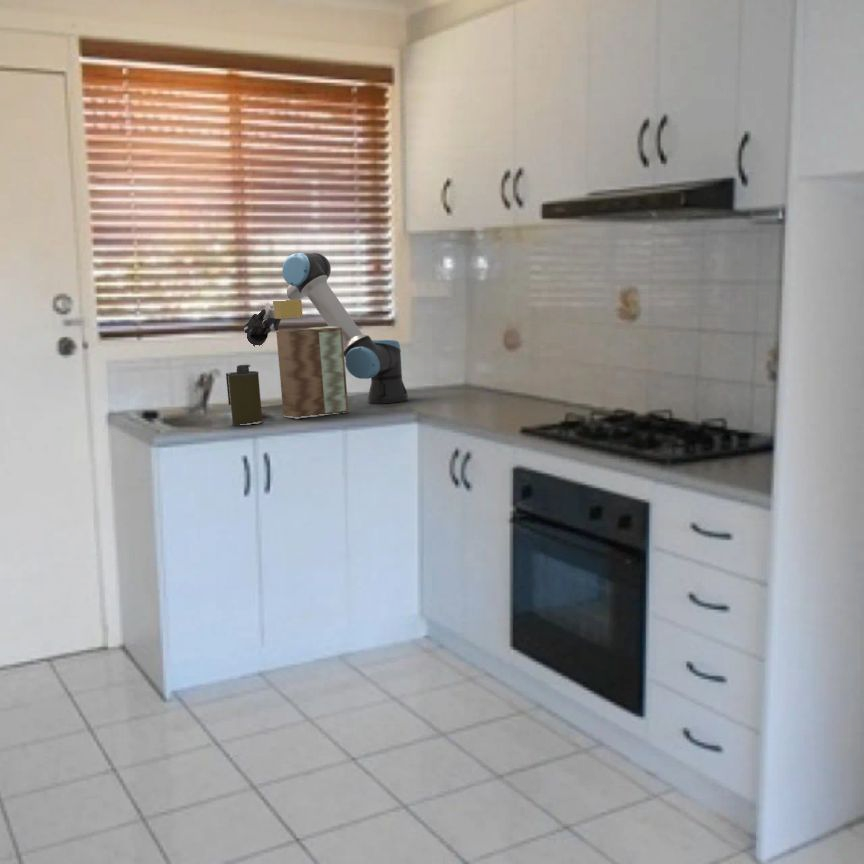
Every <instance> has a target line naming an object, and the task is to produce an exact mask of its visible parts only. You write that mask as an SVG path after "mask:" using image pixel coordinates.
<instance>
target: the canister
mask: <svg viewBox="0 0 864 864" xmlns="http://www.w3.org/2000/svg"><path fill="white" fill-rule="evenodd" d="M250 367H252V366H251V364H239V365H236V371H235V372H226V373H225V378H226V387H227V388H226V391H227V401H228V406H230V409H231V410H230V411H231V420H232V421H231V424H232V426H234V425H240V424H247V423H253V422H258V421H263V413H262V411H263V410H262V402H261V401H262V400H261V389H260V377H259V371H256V370H255V371H253V370H251V371H250V369H249V368H250Z"/></svg>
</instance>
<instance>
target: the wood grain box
mask: <svg viewBox="0 0 864 864" xmlns="http://www.w3.org/2000/svg"><path fill="white" fill-rule="evenodd" d="M276 344H277V356H278V369H279V377H280V378H279V380H280V389H281V390H280V391H281V402H282V411H283V412H282V416H283V415H285V416H293V417H301V416H310V415H319V414H333V413H343V412H348V413H349V403H348V389H347V375H346V373H347V372H346V364H345V362H346V360H345V356H344V347H343V333H342V328H340V327H329V326H318V327H307V328H294V329H293V328H291V329H284V330H283V329H282V330H278V331H276Z"/></svg>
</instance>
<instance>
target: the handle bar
mask: <svg viewBox="0 0 864 864" xmlns="http://www.w3.org/2000/svg"><path fill="white" fill-rule="evenodd" d="M273 305H274V310H270V312H269V314H268V315H267V317H266V318H275V319H281V320H282V319H292V318H303V316H304V315H303V306H302V305H303V301H302V299H300V300H286V301H273ZM263 318H264V317H263Z"/></svg>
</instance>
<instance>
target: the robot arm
mask: <svg viewBox="0 0 864 864" xmlns="http://www.w3.org/2000/svg"><path fill="white" fill-rule="evenodd" d="M281 270H282V271H281V272H282V277H283V279H284V281H285V282H286V283H287V284H289V286H288V289H287V296H288V298H289V299H290V300H302V299H303V298H304V297H305V296H306V297H308V299H309V301H310V303H312V304H313V306H314V307H315V309H316V310H317V312H318V313H319V314H320V316H321V318H322V319H323V320H324V322H325V323H326V324H327V327H340V328H342V333H343V347H344V360H345V369H346V370H347V371H348V372H349V374H350V375H351V376H353V377H354V378H357V379H362V380H365V379H370V380H371V381H370V388H369V390H368V395H367V403H368V404H377V405H378V404H379V405H381V404H395V403H396V404H397V403H402V402H403V403H404V402H407V401H408V400H409V396H408V395H409V394H408V391H407V389H406V386H405V383H404V381H403V374H402V361H401V360H402V357H401V350H402V349H401V347H400V346H401V345H400V342H399V341H398V340H396V339H395V340H394V339H393V340H392V339H373V340H372V338H371V337H370V336H369V335H367V334H363V333H362V331H361V330H360V328H359V326H357V324H356V323H355V321H354V320H353V318H352V317H351V316H350V314H349V313H348V311H347V310H346V308H345V307H344V306H343V304H342V303H341V301H340V300H339V298H338V297H337V295H336V294H335V293H334V291H333V290H332V288H331V287H330V286H329V284H328V279H329V278H330V276H331V270H332V269H331V263H330V261H329V260H328V258H327V257H326V256H325V255H323V254H321V253H318V252H312V253H310V252H305V253H303V252H296V253H293V254H290V255H288V256H287V257H286V259H285V260H284V262H283V264H282V269H281ZM266 303H267V302H266ZM266 303H265V304H266ZM270 310H271V308H270V304H269V303H267V304H266V306H265V308H264V309H262V310H261V312H260V313H259V314H258V315H257V314H254V313H253V314H254V315H253V314H252V315H253V316H252V315H251V316H252V317H251V319H250V320H249V322H248V323H247V324H246V325H245V326H244V331H245V333H247V334H246V336H247V339H248V341H249V342H250V343H251V344H253V346H254V347H255V345H259V346H260V345H262V344H263V343H265V342H266V341H267V339H268V337H269V333H271V331H272V330H274V331H276V332H278V331H279V325H280V322H281V320H282V319H275V318H268V319H267V320H265V321H264V322H263V320H264V319H263V317H264V318H266V317H267V315H268V314H269V312H270ZM272 310H274V307H273V309H272ZM262 322H263V323H262ZM263 345H264V344H263ZM263 345H262V346H263Z"/></svg>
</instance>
